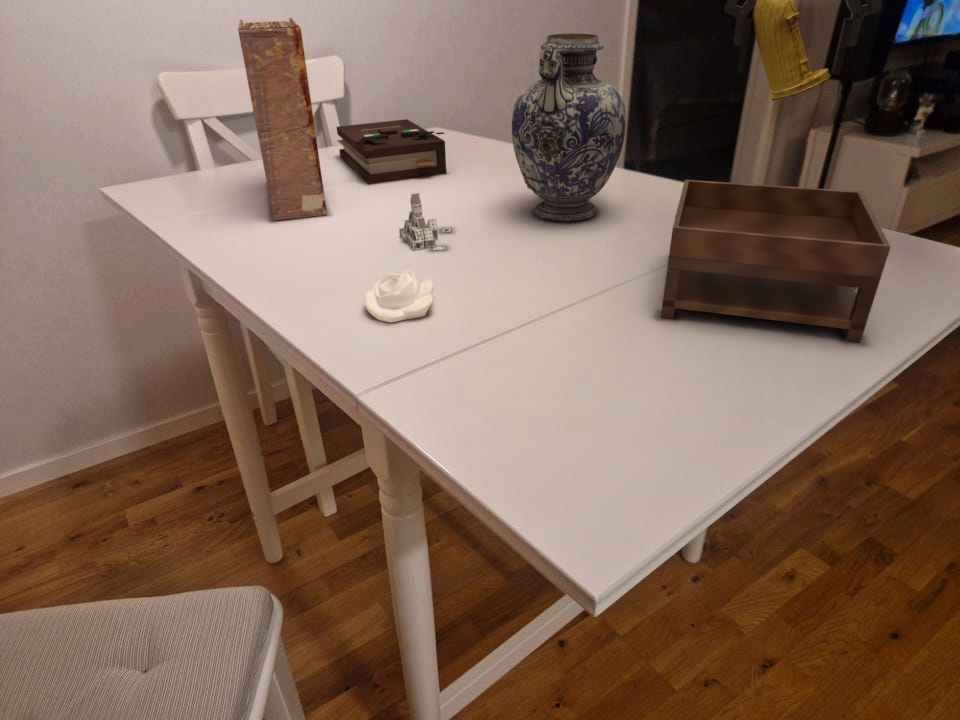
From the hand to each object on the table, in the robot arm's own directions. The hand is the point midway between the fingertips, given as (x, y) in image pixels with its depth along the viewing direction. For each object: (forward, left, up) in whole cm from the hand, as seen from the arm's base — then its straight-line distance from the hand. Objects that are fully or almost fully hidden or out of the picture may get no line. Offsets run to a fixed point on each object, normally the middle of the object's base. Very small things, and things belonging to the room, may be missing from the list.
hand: (786, 72), depth 89 cm
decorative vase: (+31, -6, -24) cm, 40 cm away
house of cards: (+48, +13, -24) cm, 55 cm away
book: (+82, -1, -24) cm, 86 cm away
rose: (+43, +36, -24) cm, 61 cm away
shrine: (0, 0, -4) cm, 4 cm away
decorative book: (+75, -28, -24) cm, 84 cm away
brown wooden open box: (0, +20, -24) cm, 31 cm away
